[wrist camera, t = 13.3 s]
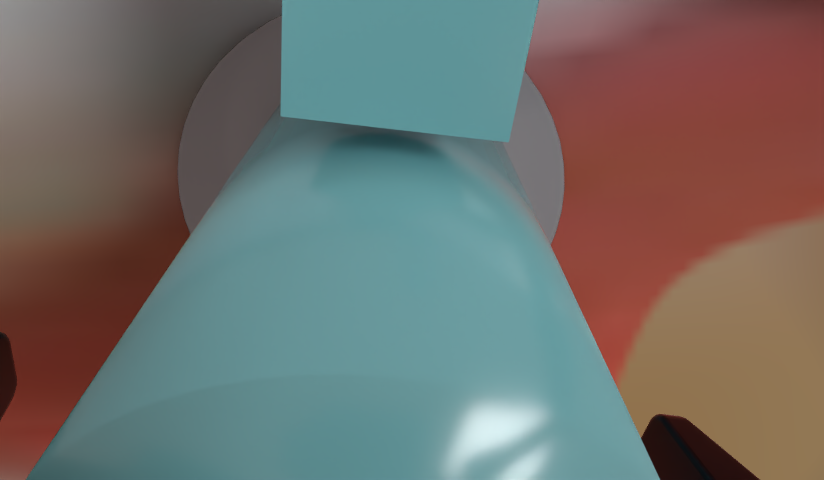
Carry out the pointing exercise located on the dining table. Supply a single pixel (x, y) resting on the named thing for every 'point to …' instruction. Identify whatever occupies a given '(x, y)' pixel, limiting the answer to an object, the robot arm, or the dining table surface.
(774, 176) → the dining table surface
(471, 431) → the jug
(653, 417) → the robot arm
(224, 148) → the coaster
